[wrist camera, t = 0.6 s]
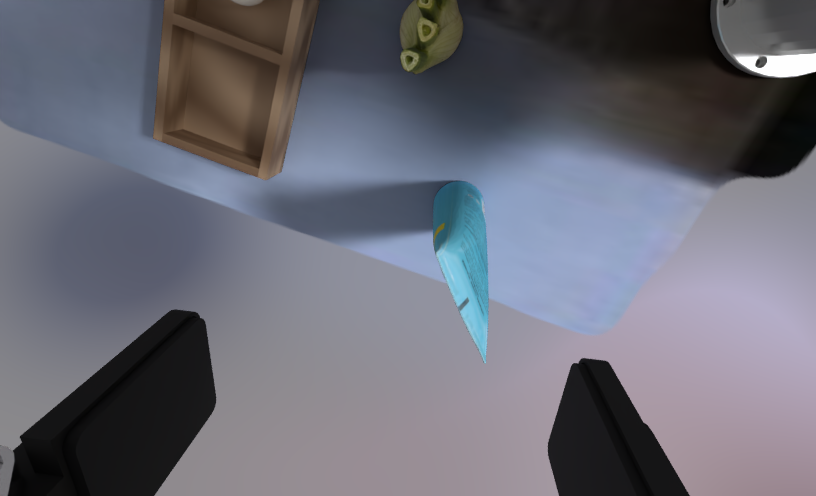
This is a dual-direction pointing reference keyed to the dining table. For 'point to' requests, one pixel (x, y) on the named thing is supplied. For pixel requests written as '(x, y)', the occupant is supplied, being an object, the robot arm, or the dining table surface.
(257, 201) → the dining table surface
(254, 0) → the cream egg
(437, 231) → the tube
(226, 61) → the wooden compartment tray
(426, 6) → the fennel bulb
